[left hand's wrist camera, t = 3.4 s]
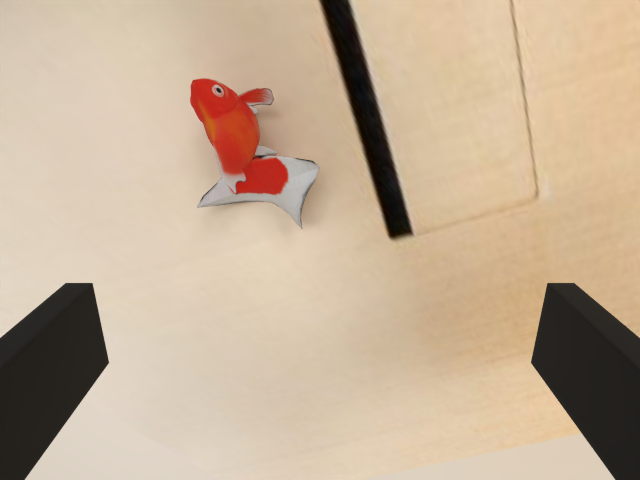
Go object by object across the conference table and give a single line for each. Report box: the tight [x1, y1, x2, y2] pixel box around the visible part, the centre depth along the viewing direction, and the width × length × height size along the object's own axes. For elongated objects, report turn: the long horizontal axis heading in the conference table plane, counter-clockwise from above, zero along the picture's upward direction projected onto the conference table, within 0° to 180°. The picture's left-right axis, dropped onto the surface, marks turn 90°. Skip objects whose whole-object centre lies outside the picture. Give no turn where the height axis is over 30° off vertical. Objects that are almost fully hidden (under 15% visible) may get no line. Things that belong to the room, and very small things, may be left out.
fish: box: [190, 78, 319, 228], centre depth 39 cm, size 11×16×10 cm
